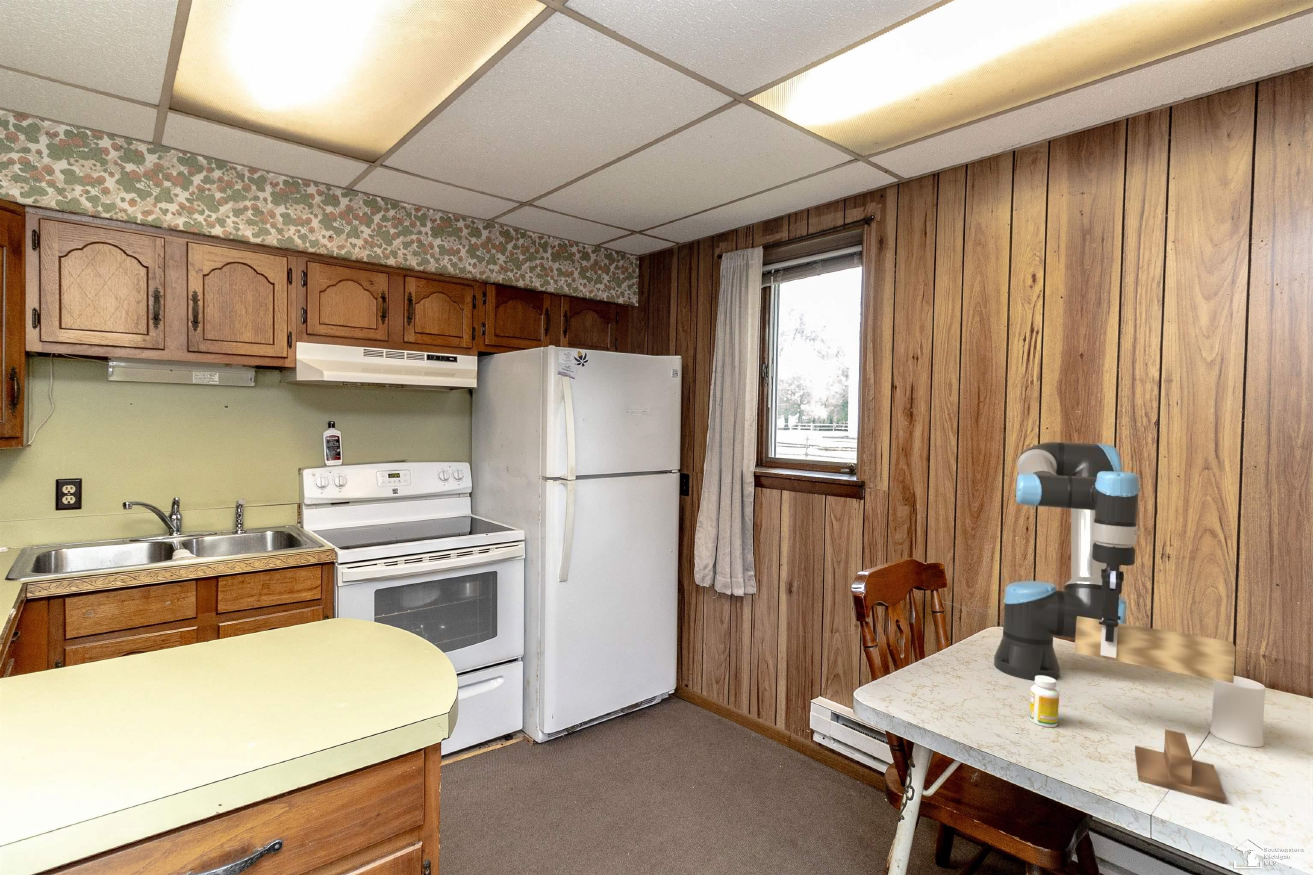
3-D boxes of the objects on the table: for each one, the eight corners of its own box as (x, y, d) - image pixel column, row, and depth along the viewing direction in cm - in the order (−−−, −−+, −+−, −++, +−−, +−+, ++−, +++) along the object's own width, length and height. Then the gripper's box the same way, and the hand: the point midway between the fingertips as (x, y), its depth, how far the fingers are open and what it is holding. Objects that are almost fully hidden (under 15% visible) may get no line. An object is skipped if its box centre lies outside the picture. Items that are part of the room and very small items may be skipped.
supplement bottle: (1023, 719, 144) (1025, 675, 144) (1039, 715, 146) (1041, 672, 146) (1047, 729, 139) (1049, 684, 139) (1063, 725, 141) (1065, 681, 141)
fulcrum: (1138, 780, 119) (1140, 747, 119) (1134, 750, 131) (1136, 720, 131) (1224, 803, 113) (1226, 769, 113) (1212, 770, 124) (1214, 738, 124)
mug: (1201, 719, 147) (1204, 666, 147) (1251, 729, 143) (1254, 674, 143) (1215, 740, 137) (1218, 683, 137) (1269, 751, 133) (1272, 693, 133)
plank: (1074, 652, 142) (1076, 620, 142) (1075, 647, 145) (1076, 615, 145) (1233, 683, 127) (1235, 647, 127) (1229, 676, 131) (1231, 641, 131)
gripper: (1137, 552, 130) (1131, 668, 131) (1133, 541, 145) (1128, 645, 145) (1092, 547, 134) (1086, 660, 135) (1093, 536, 149) (1087, 638, 150)
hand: (1108, 652), depth 140 cm, fingers closed on plank, 4 cm apart
